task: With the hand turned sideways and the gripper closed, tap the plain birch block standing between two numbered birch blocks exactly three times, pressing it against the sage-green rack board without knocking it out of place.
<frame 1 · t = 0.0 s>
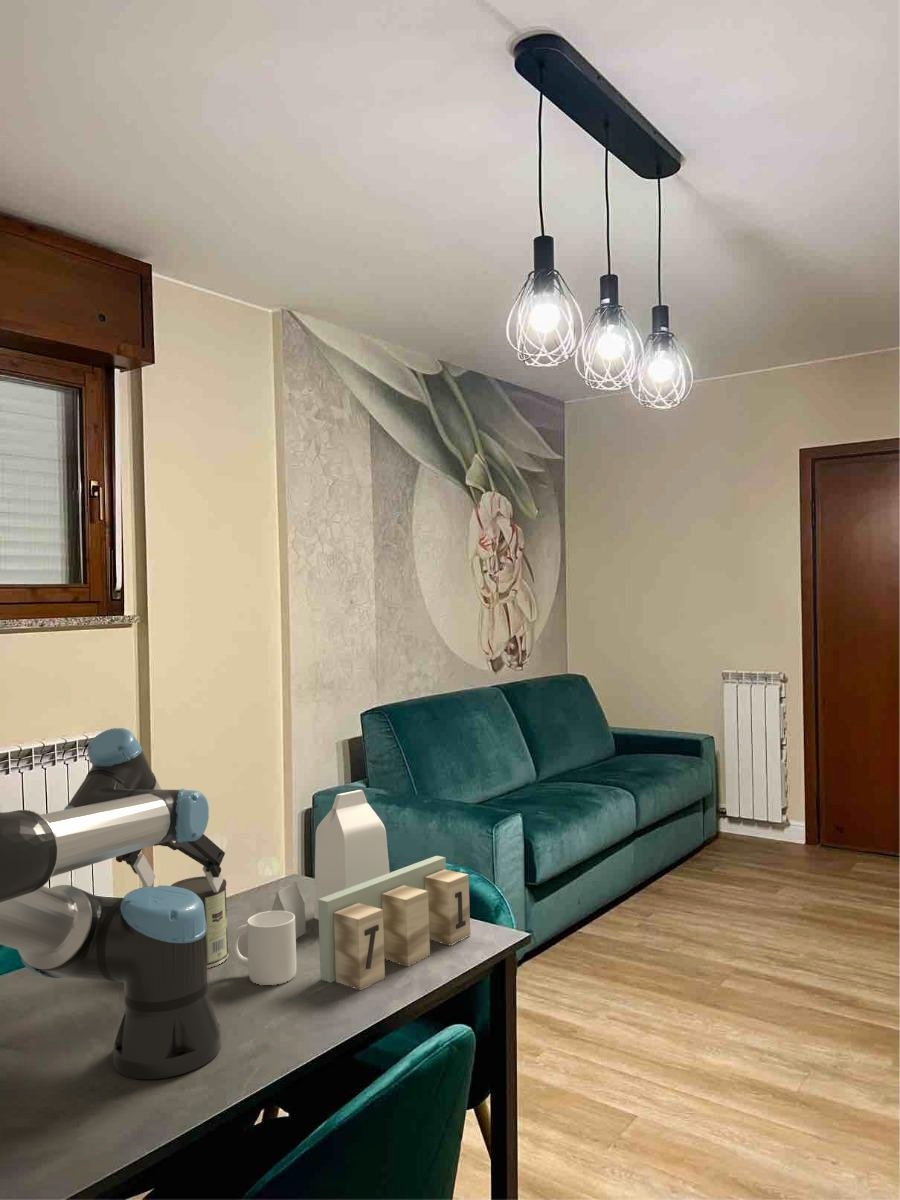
hand: (184, 884, 164), 15 cm above the table, tool tilted 35°, fingers open, 13 cm apart
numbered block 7: (360, 980, 157), on the table
plain block: (407, 957, 166), on the table
milk: (353, 918, 189), on the table
numbered block 1: (448, 937, 176), on the table
mug: (263, 977, 160), on the table
white juice carton: (288, 938, 178), on the table
rack board: (388, 951, 169), on the table
coffee can: (200, 961, 168), on the table
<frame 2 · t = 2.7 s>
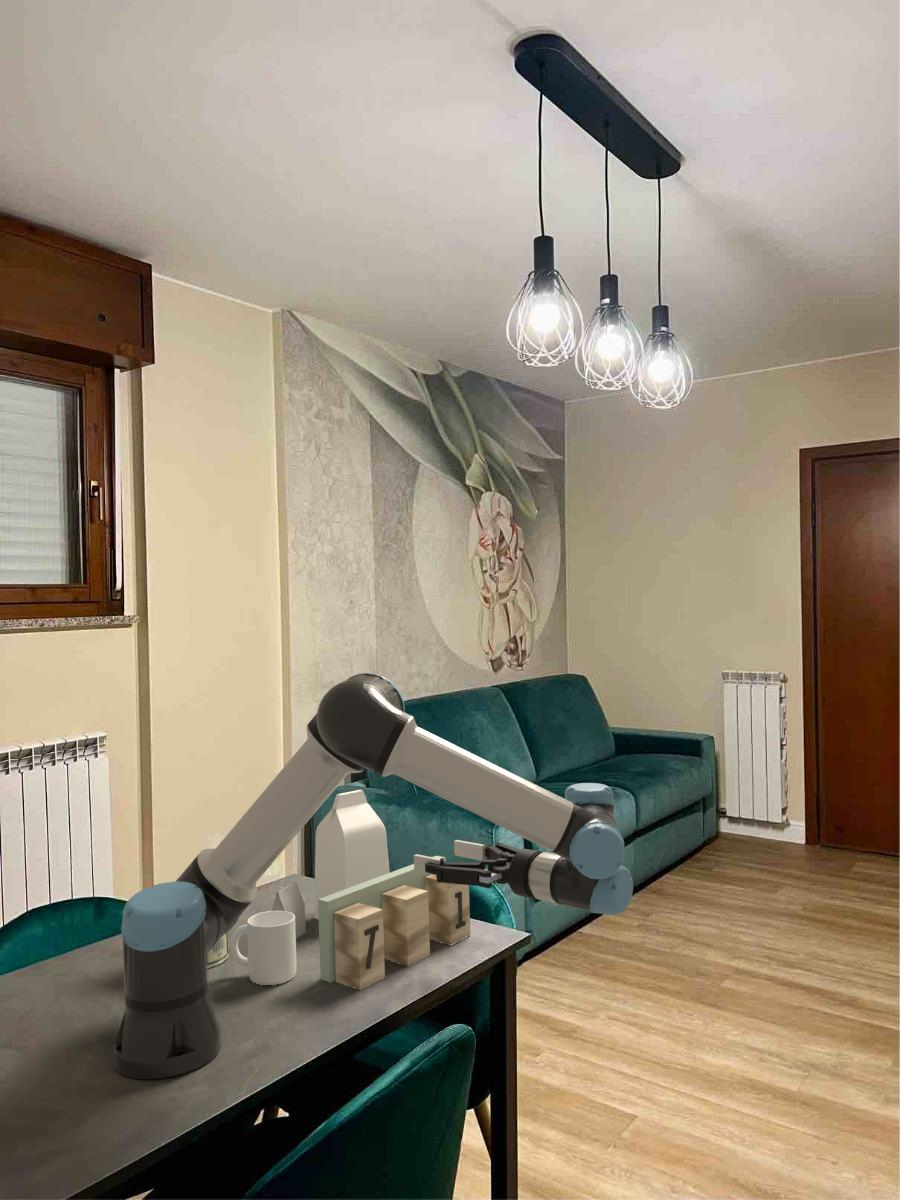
hand: (435, 854, 161), 20 cm above the table, tool horizontal, fingers open, 10 cm apart
nothing on the table moved.
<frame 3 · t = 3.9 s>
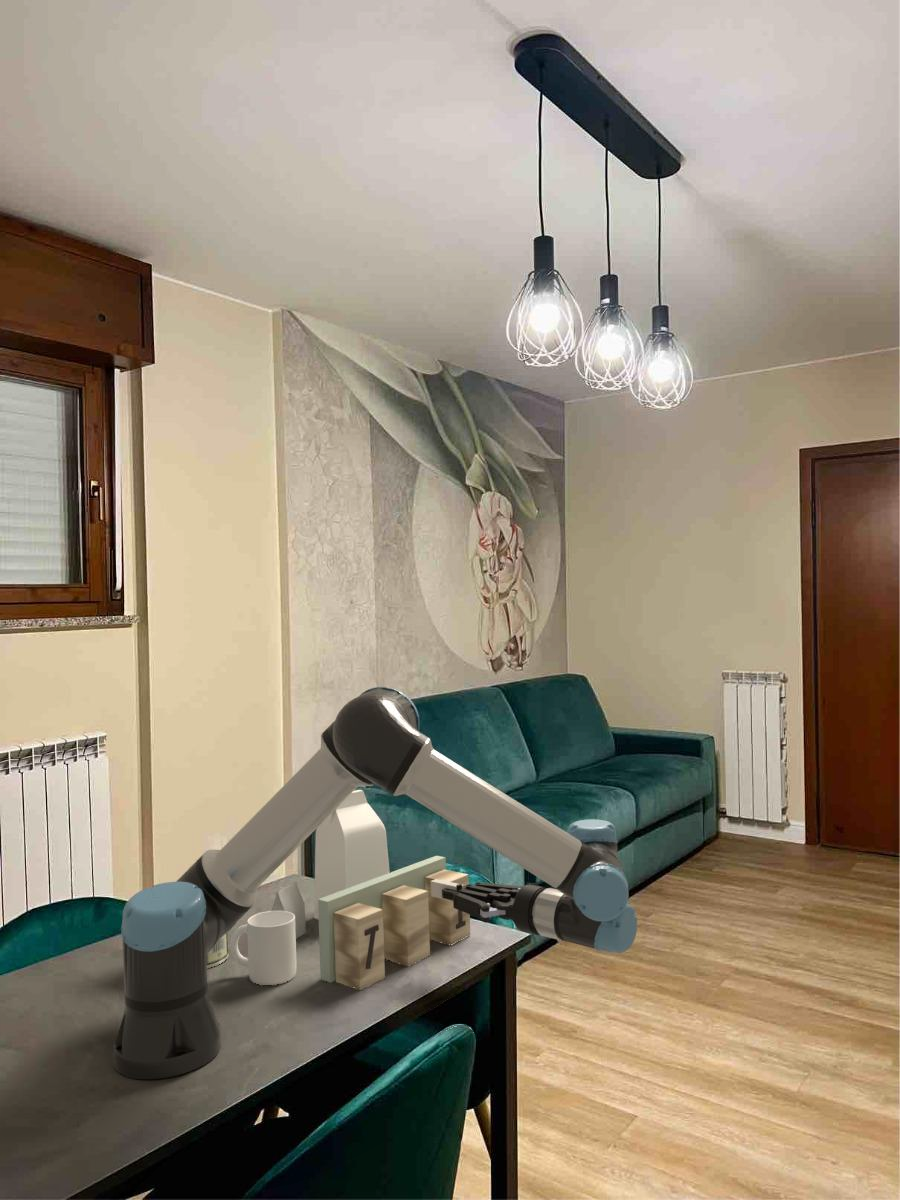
hand: (433, 887, 162), 14 cm above the table, tool horizontal, fingers closed
nothing on the table moved.
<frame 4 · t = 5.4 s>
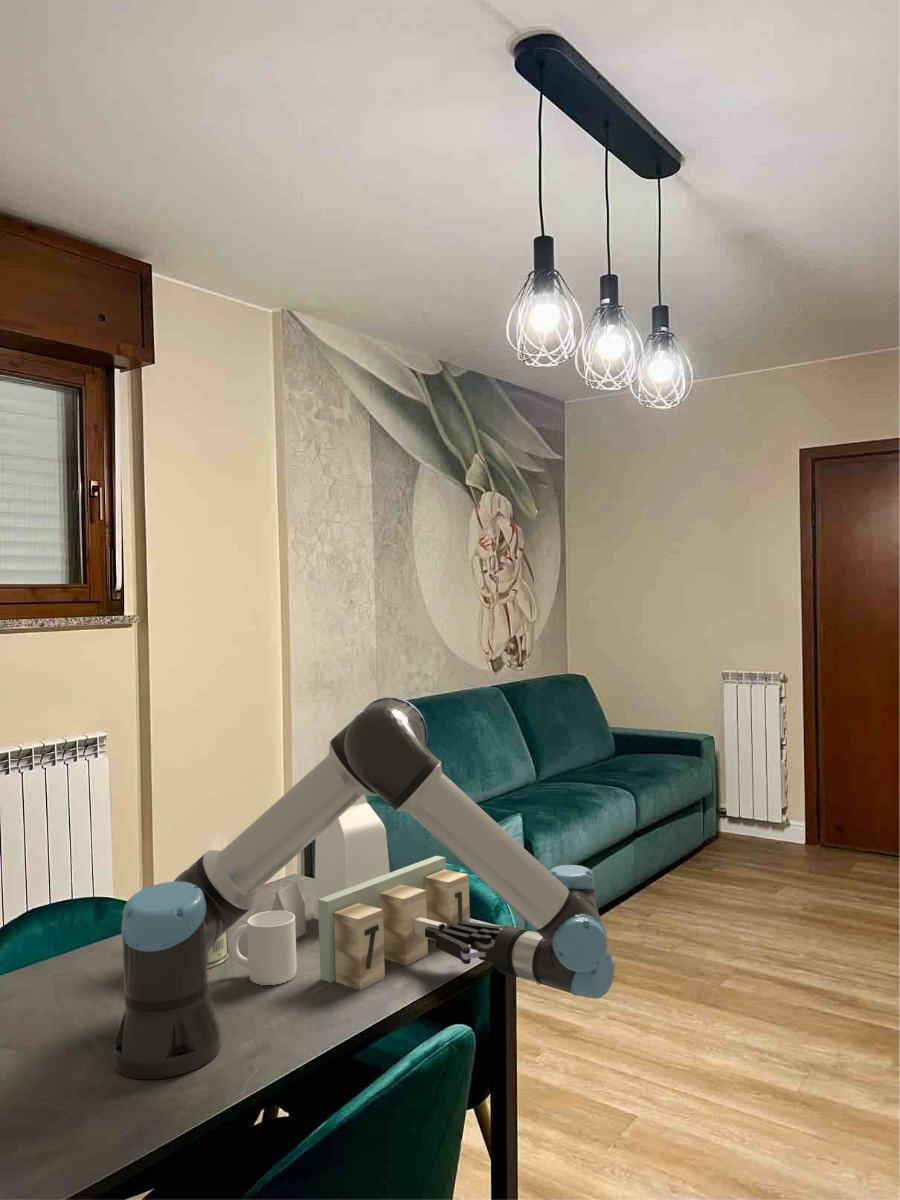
hand: (417, 925, 165), 6 cm above the table, tool horizontal, fingers closed
plain block: (405, 956, 167), on the table, touching gripper, rack board
everything else where it was.
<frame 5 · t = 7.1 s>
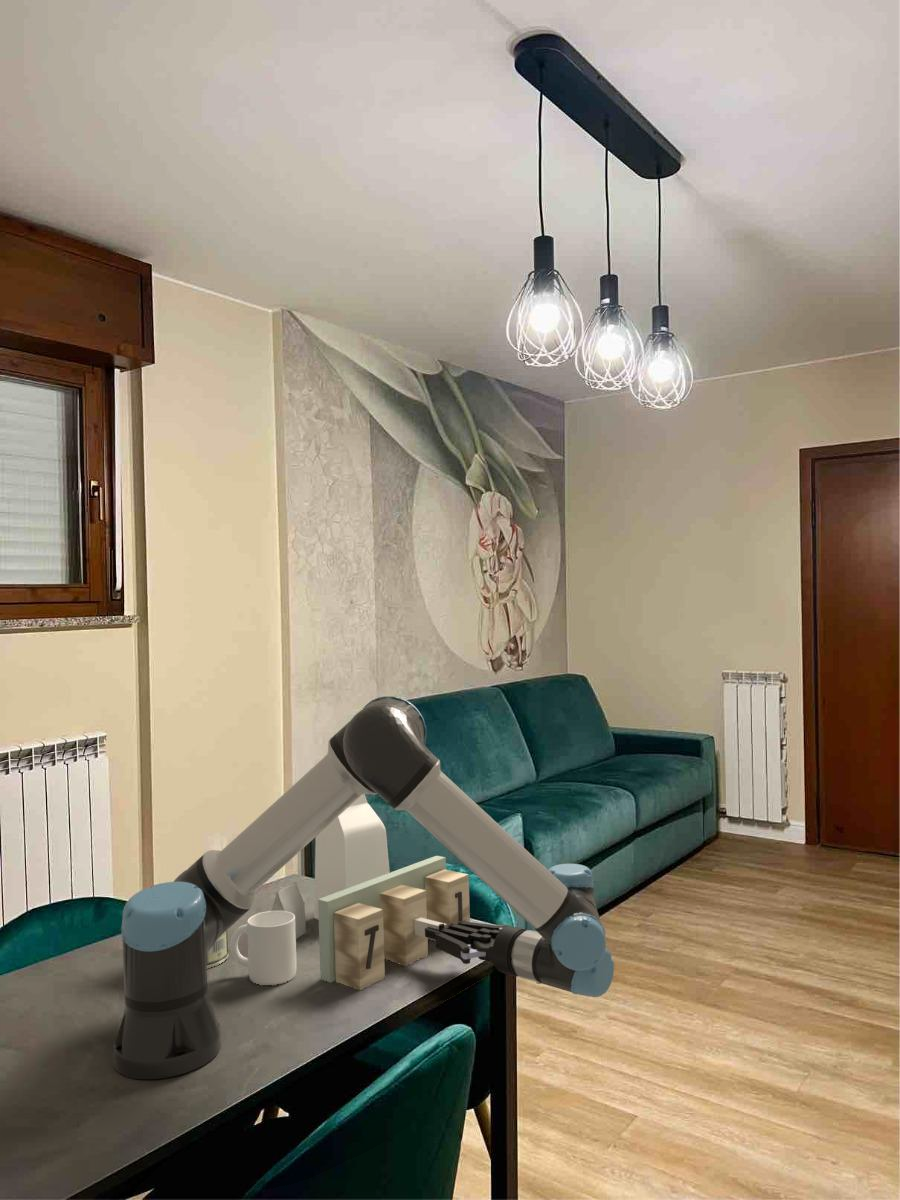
hand: (417, 925, 165), 6 cm above the table, tool horizontal, fingers closed
nothing on the table moved.
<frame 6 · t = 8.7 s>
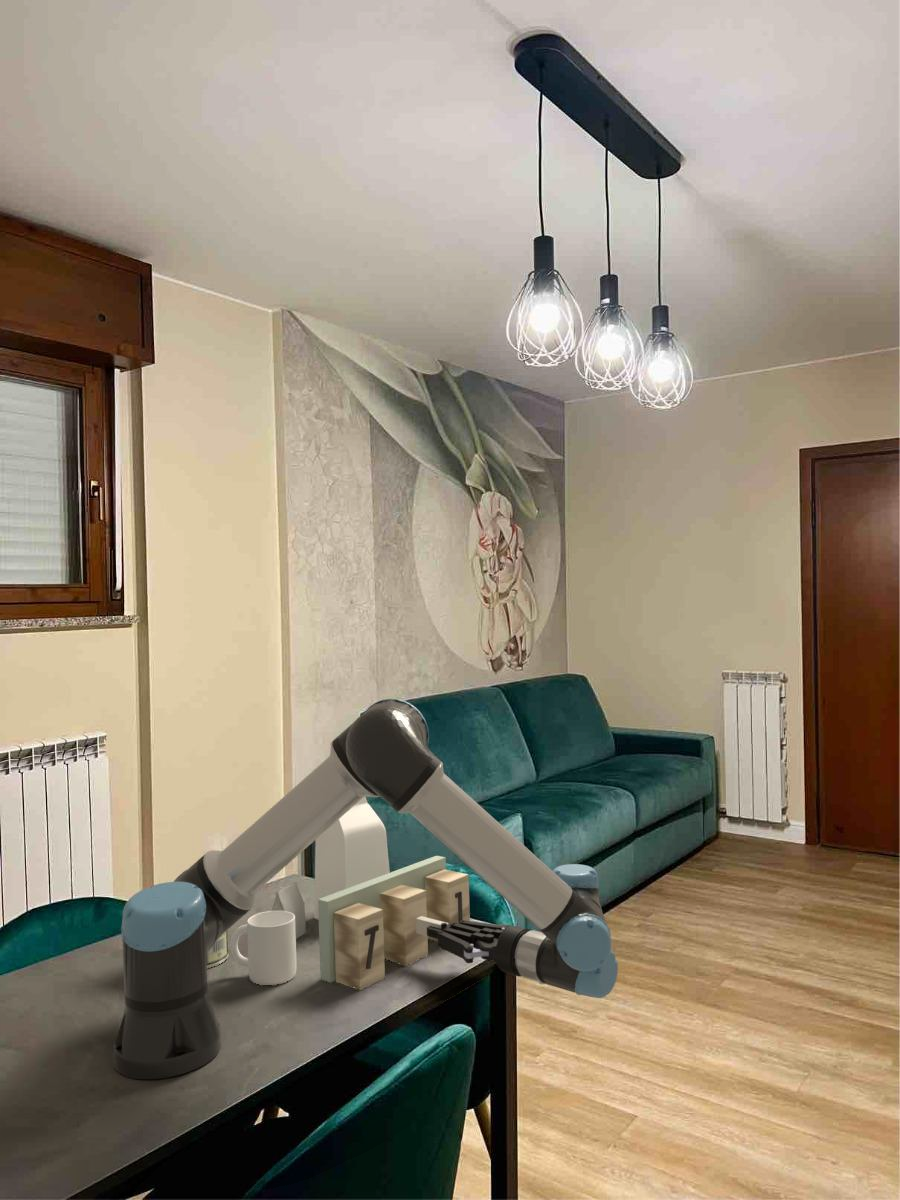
hand: (418, 924, 164), 7 cm above the table, tool horizontal, fingers closed
plain block: (405, 957, 167), on the table
everything else where it was.
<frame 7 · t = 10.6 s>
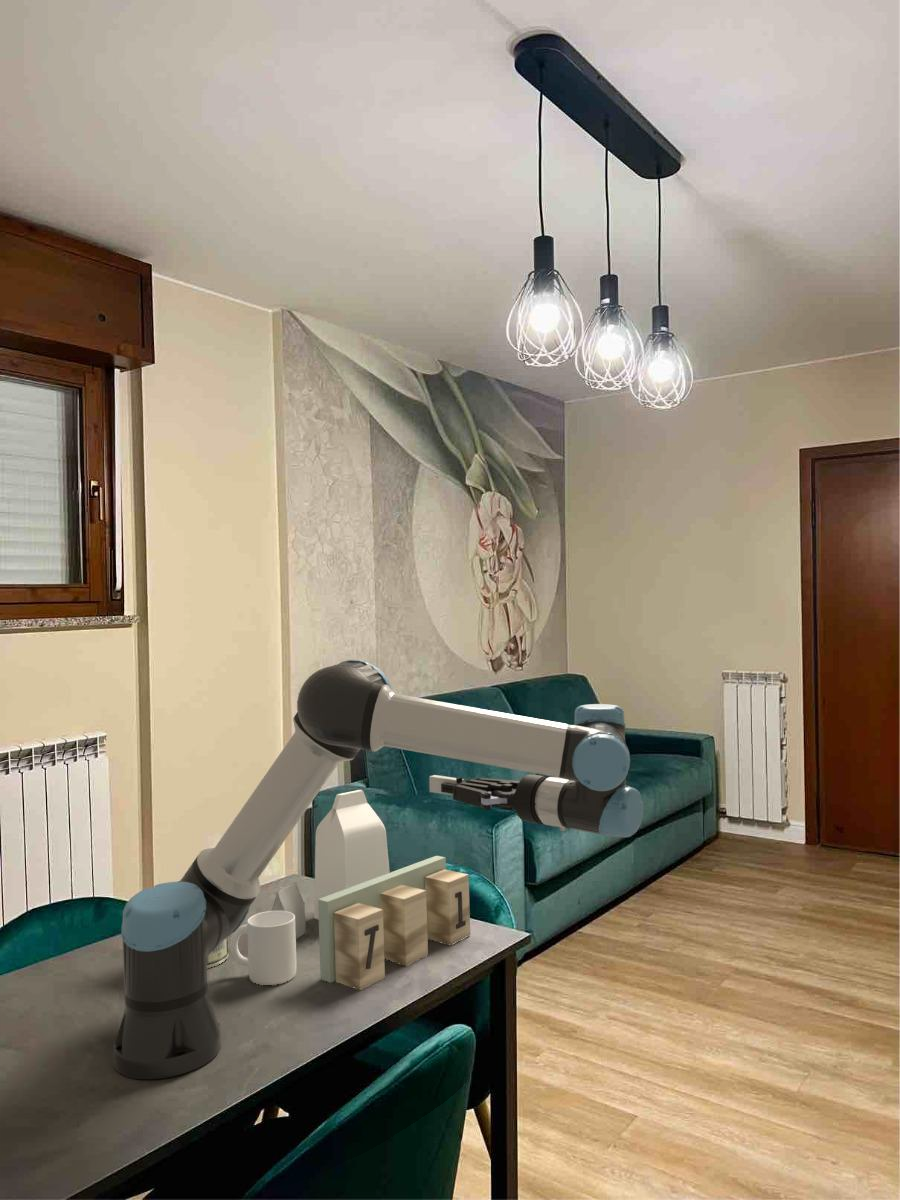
hand: (432, 783, 158), 34 cm above the table, tool horizontal, fingers closed
nothing on the table moved.
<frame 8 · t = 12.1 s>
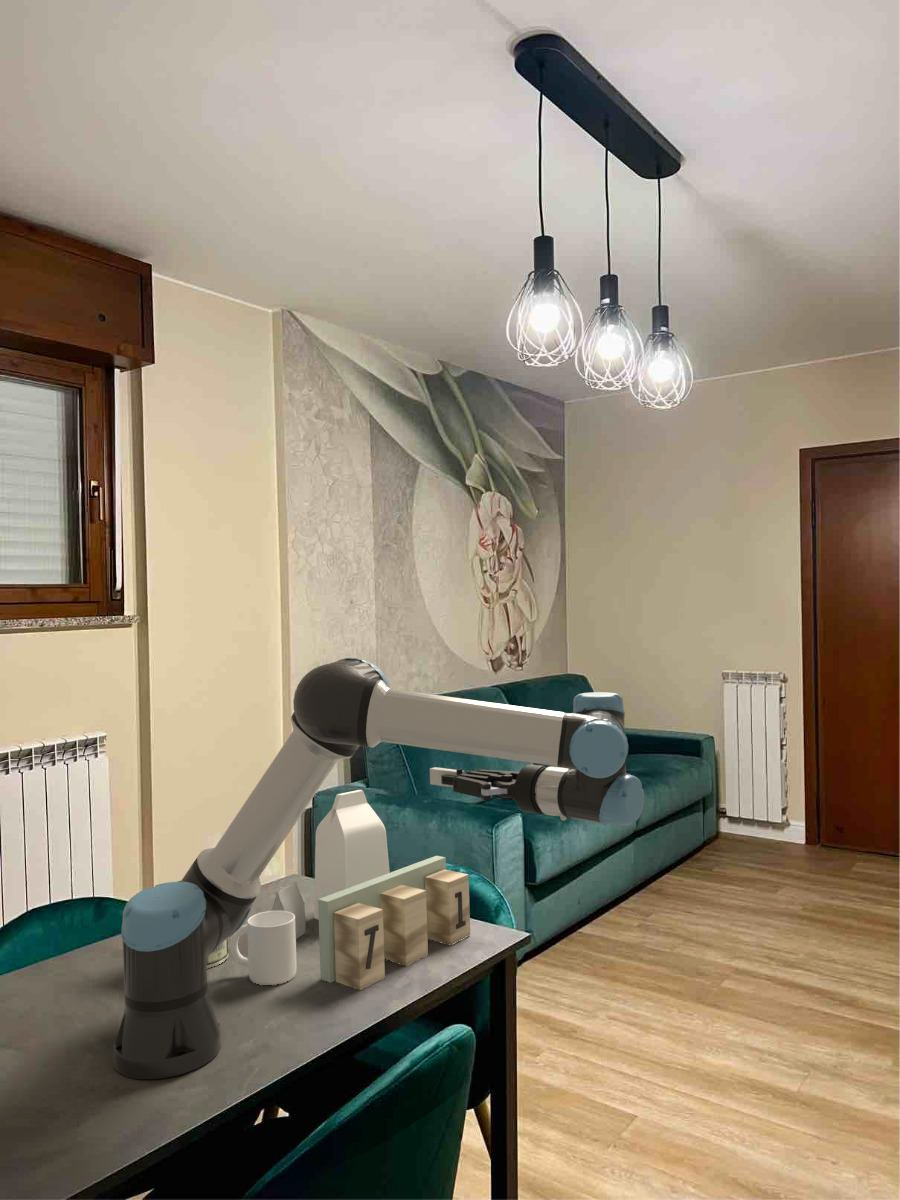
hand: (432, 775, 157), 35 cm above the table, tool horizontal, fingers closed
nothing on the table moved.
at the end: plain block moved 0.5 cm from its start; plain block tilted 0°; numbered block 1 moved 0.0 cm from its start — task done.
